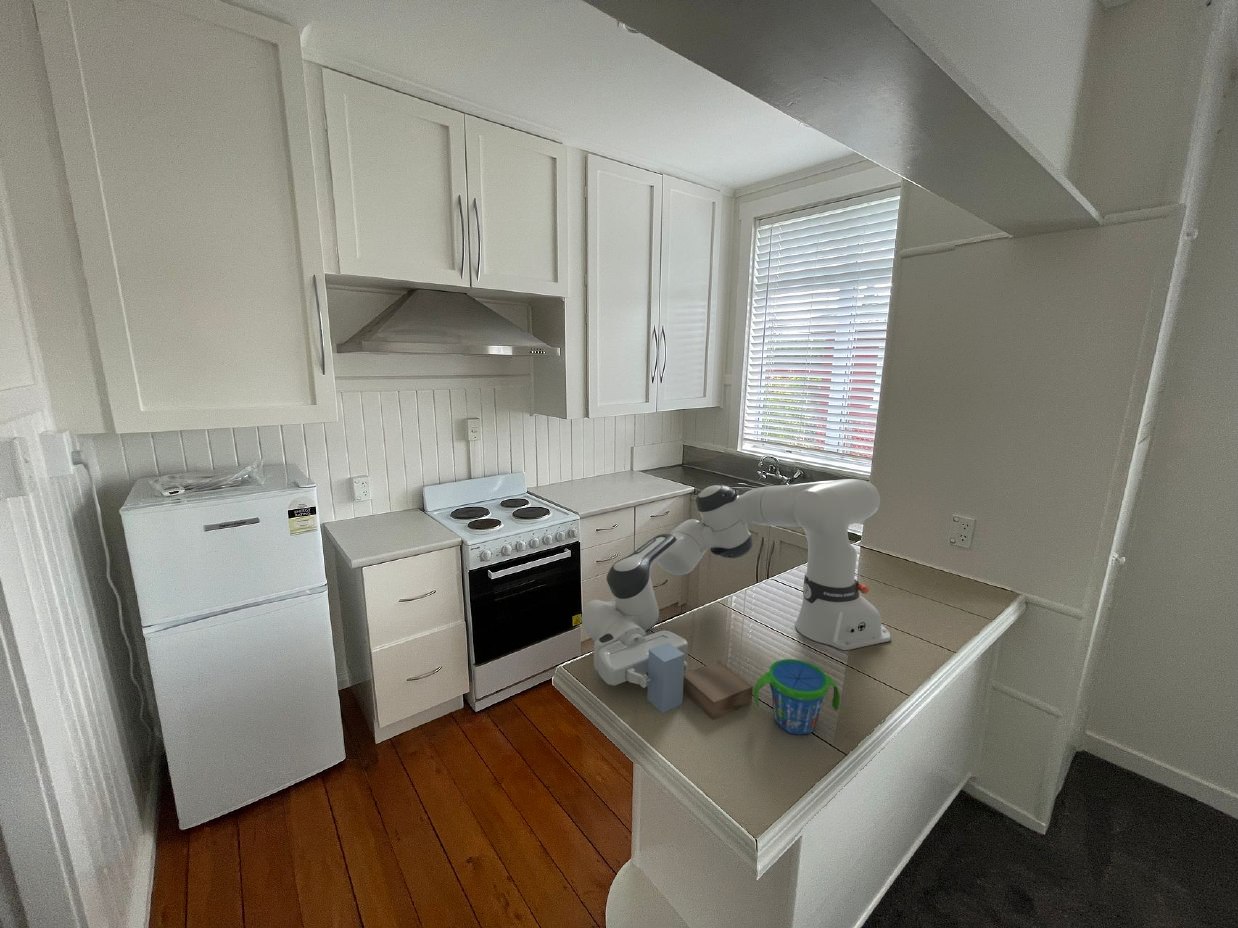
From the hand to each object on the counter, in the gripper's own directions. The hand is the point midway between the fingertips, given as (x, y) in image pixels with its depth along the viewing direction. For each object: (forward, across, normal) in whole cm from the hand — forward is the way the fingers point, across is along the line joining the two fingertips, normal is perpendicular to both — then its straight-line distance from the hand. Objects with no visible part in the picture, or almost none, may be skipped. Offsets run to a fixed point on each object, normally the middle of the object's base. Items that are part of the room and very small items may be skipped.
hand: (666, 675), depth 100 cm
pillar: (0, 0, -6) cm, 6 cm away
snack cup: (+18, -17, -6) cm, 25 cm away
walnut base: (+4, -10, -6) cm, 12 cm away
